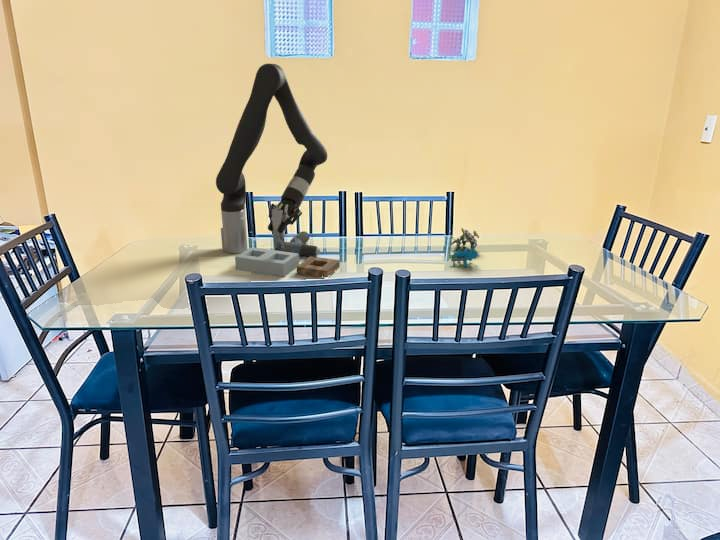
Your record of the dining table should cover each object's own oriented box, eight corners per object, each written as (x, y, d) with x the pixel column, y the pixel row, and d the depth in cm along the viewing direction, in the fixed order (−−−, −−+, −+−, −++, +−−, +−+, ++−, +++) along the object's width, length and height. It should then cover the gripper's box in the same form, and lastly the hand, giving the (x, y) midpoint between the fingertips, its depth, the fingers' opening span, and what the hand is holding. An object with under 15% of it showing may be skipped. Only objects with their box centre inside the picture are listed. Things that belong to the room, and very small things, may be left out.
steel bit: (271, 248, 178) (269, 210, 173) (276, 244, 182) (274, 207, 177) (281, 249, 177) (279, 211, 172) (286, 246, 181) (284, 208, 176)
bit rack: (235, 269, 182) (234, 256, 180) (252, 259, 192) (252, 247, 191) (284, 276, 176) (283, 263, 174) (299, 265, 186) (298, 253, 185)
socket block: (296, 274, 178) (296, 266, 177) (310, 263, 189) (310, 256, 188) (327, 278, 175) (327, 271, 174) (339, 267, 185) (339, 260, 184)
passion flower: (471, 263, 208) (482, 246, 199) (447, 258, 208) (456, 241, 198) (471, 242, 215) (481, 225, 205) (447, 237, 214) (456, 220, 204)
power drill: (332, 245, 212) (317, 260, 194) (292, 241, 216) (273, 255, 198) (332, 233, 210) (317, 247, 192) (291, 229, 214) (273, 243, 196)
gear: (477, 257, 194) (478, 246, 185) (478, 271, 191) (480, 260, 182) (449, 259, 196) (448, 248, 187) (450, 273, 193) (450, 262, 184)
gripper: (276, 183, 181) (254, 222, 176) (305, 188, 174) (283, 229, 169) (286, 195, 187) (265, 233, 182) (315, 200, 180) (294, 240, 175)
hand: (274, 231), depth 176 cm, fingers closed on steel bit, 4 cm apart
